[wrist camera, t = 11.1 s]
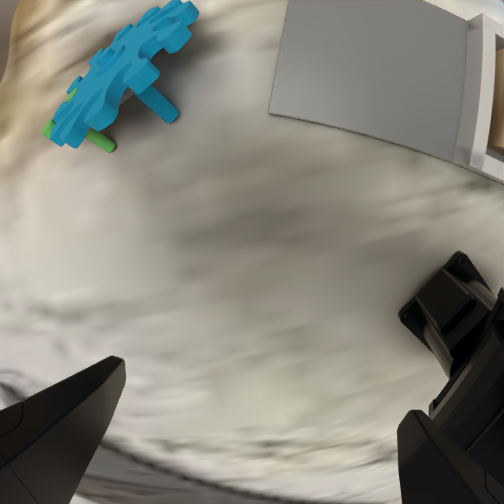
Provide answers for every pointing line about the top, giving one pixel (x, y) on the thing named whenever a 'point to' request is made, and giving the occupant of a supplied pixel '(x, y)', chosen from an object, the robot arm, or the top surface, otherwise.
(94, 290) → the top surface
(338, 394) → the top surface
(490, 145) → the cardboard box
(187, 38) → the gear
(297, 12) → the gray plate
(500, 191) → the top surface
